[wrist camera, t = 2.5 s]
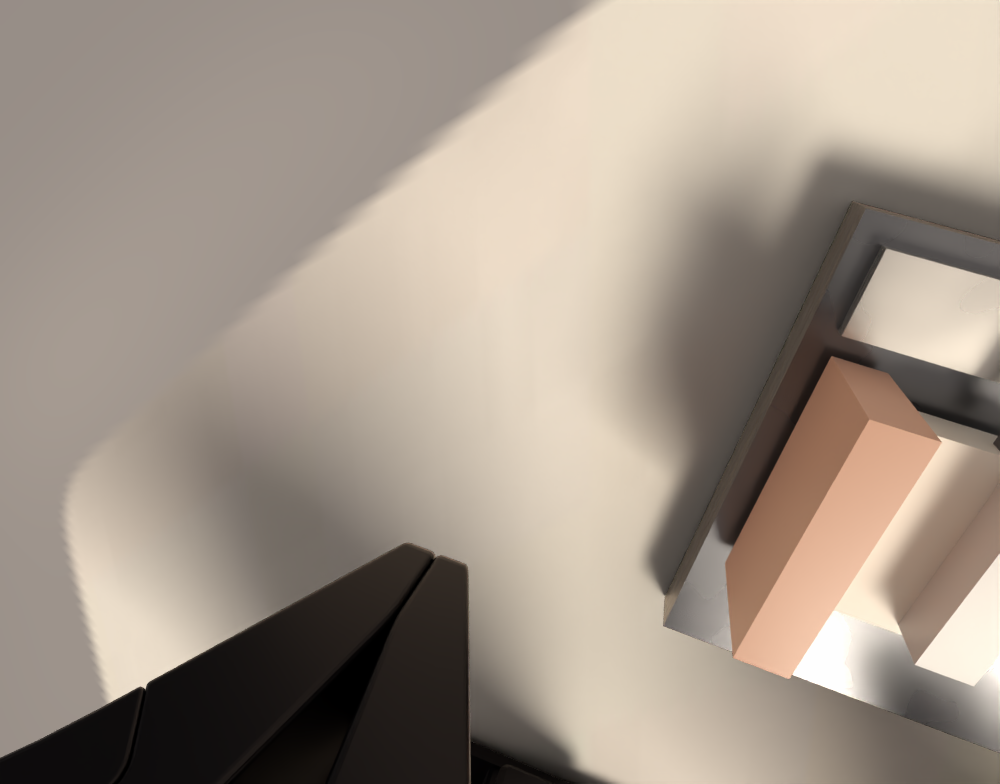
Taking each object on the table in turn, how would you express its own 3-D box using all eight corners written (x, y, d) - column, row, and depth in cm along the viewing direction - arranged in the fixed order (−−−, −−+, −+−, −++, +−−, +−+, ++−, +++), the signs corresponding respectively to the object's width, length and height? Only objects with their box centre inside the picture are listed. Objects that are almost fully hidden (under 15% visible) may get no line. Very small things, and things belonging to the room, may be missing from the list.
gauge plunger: (916, 631, 13) (967, 746, 11) (725, 562, 14) (732, 658, 11) (1142, 326, 10) (1285, 392, 8) (883, 254, 11) (940, 294, 8)
